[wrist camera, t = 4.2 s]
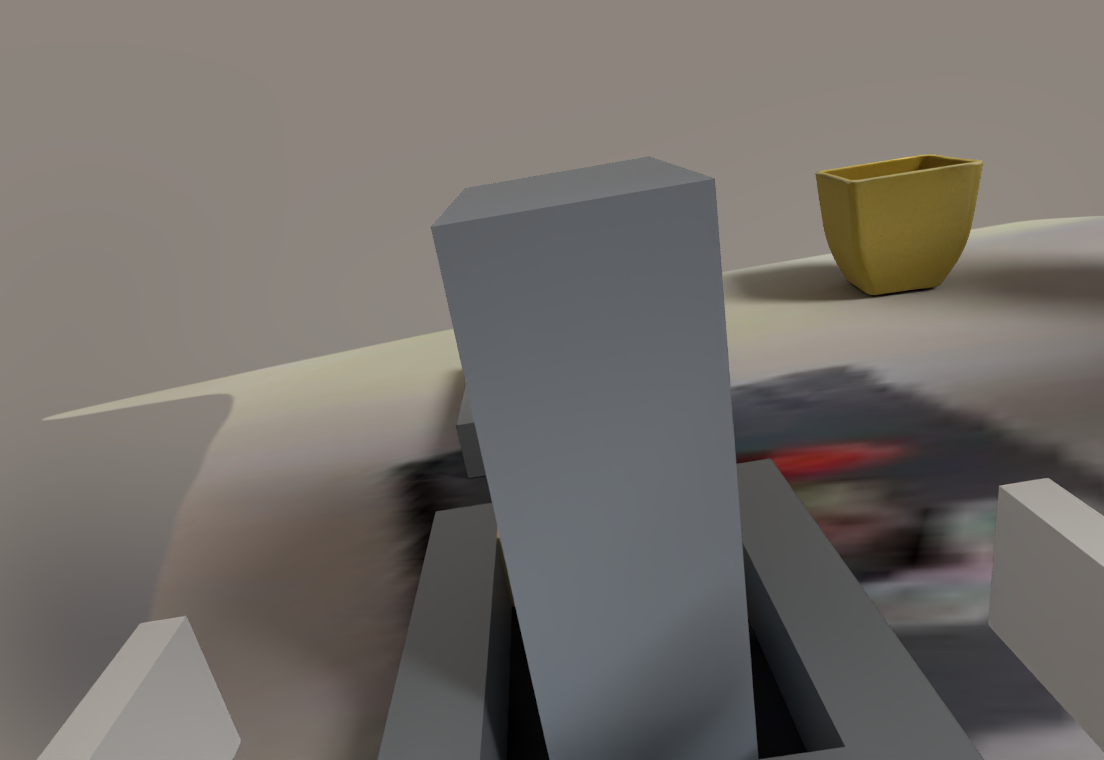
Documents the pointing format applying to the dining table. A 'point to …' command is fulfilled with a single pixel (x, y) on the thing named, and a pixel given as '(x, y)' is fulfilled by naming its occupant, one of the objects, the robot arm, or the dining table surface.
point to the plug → (610, 451)
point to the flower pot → (899, 219)
